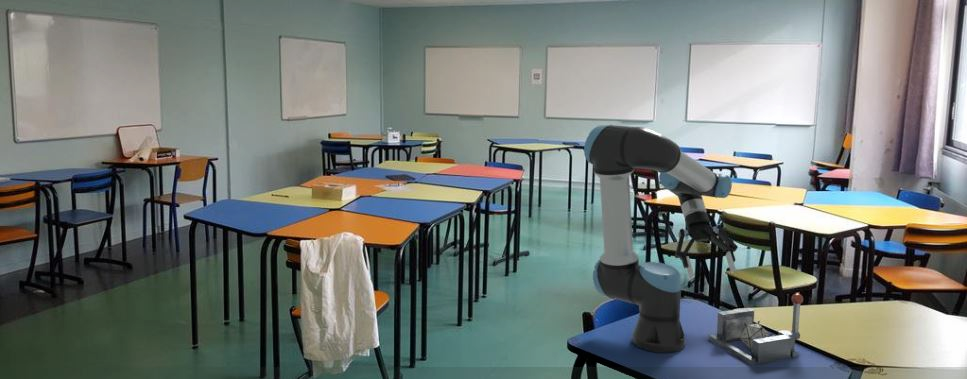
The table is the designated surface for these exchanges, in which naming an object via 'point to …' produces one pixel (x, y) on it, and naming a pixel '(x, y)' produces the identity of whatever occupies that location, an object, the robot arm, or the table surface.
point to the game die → (753, 334)
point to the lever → (796, 314)
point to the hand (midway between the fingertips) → (712, 274)
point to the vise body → (763, 348)
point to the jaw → (733, 323)
